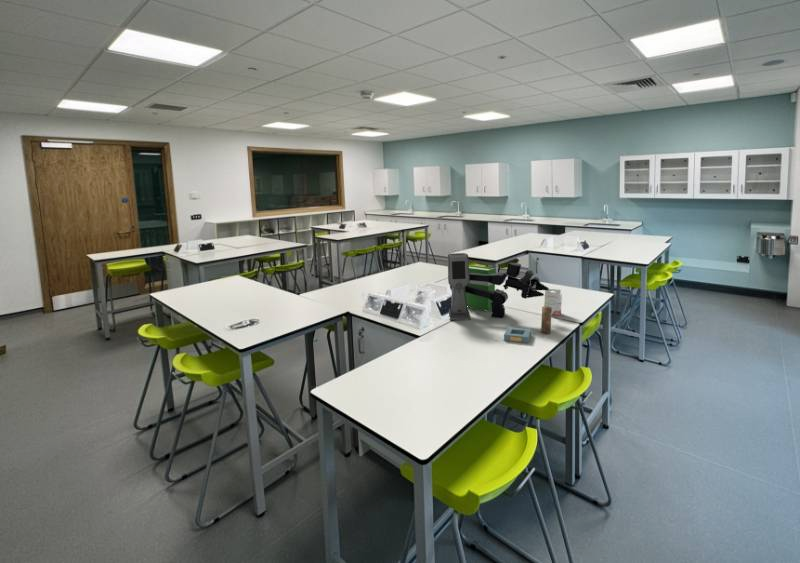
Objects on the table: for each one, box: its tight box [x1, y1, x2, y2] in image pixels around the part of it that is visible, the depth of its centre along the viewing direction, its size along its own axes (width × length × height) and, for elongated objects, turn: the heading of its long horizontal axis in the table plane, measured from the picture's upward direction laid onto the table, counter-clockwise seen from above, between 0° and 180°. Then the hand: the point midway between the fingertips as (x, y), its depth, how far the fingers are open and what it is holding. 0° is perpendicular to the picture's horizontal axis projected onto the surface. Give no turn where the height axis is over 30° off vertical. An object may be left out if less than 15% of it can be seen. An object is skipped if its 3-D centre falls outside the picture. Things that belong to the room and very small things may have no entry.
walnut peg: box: [540, 306, 552, 335], centre depth 210 cm, size 4×4×13 cm
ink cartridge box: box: [544, 288, 563, 316], centre depth 238 cm, size 9×5×15 cm, turn 62°
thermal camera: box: [447, 252, 471, 321], centre depth 237 cm, size 12×13×35 cm
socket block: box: [503, 326, 532, 344], centre depth 206 cm, size 11×11×3 cm
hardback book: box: [466, 264, 496, 312], centre depth 255 cm, size 18×7×24 cm, turn 47°
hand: (546, 291), depth 223 cm, fingers open, 9 cm apart
